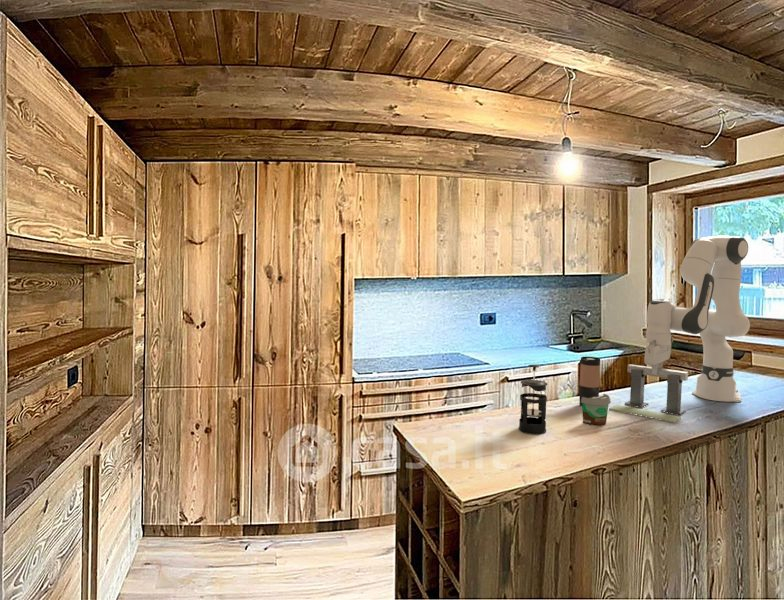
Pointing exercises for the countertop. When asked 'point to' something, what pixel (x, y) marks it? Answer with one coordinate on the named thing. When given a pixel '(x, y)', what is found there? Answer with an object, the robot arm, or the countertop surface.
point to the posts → (672, 392)
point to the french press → (532, 423)
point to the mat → (645, 413)
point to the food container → (595, 410)
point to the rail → (661, 372)
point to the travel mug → (589, 377)
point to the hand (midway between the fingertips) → (656, 373)
